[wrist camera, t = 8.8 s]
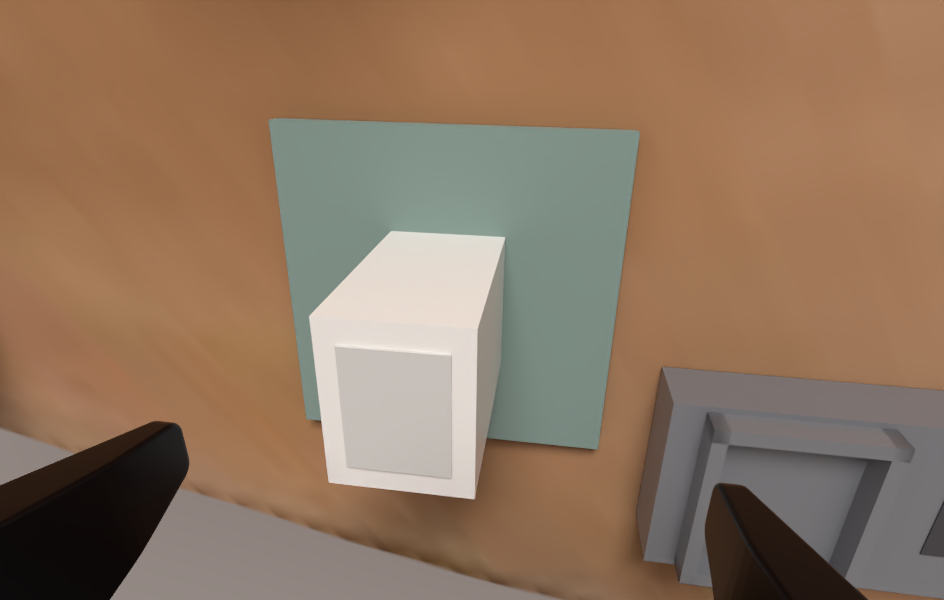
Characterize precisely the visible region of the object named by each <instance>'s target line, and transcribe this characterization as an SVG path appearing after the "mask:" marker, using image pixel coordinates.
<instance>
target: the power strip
mask: <svg viewBox="0 0 944 600" xmlns="http://www.w3.org/2000/svg"><path fill="white" fill-rule="evenodd" d="M717 483H730V484H739V485H743V486H745V487H747V488H748V489H749V490H750V491H751V492H752V493H753V494H755V495H756V496H757V497H758V498H759V499H760V500H761V501H762V502H763V503H764V504H765V505H766V506H768V507H769V508H770V509H771V510H772V511H773V512H774V513H775V514H776V515H777V516H778V517H779V518H780V519H782V520H783V521H784V522H785V523H786V524H787V525H788V526H789V527H790V528H791V529H792V530H793V531H795V532H796V533H797V534H798V535H799V536H800V537H801V538H802V539H803V540H804V541H805V542H806V543H807V544H809V545H810V546H811V547H812V548H813V549H814V550H815V551H816V552H817V553H818V554H819V555H820V556H822V557H823V558H824V559H825V560H826V561H827V562H828V563H829V564H830V565H831V566H832V567H833V568H834V569H836V570H837V571H838V572H839V573H840V574H841V575H842V576H843V577H844V578H845V579H846V580H847V581H849V582H850V583H851V584H852V585H853V586H854V587H855V588H856V589H857V588H863V589H871V590H878V591H886V592H894V593H902V594H910V595H918V596H925V597H933V598H941V599H944V391H942V390H930V389H918V388H906V387H894V386H883V385H871V384H859V383H847V382H835V381H824V380H812V379H800V378H788V377H776V376H765V375H753V374H741V373H729V372H717V371H706V370H694V369H682V368H670V367H662V370H661V376H660V381H659V387H658V393H657V398H656V404H655V409H654V415H653V421H652V426H651V432H650V438H649V443H648V449H647V454H646V460H645V466H644V471H643V477H642V483H641V488H640V494H639V499H638V505H637V511H636V517H637V524H638V530H639V536H640V542H641V548H642V554H643V560H644V561H651V562H659V563H667V564H675V567H676V572H677V576H678V580H679V583H682V584H690V585H697V586H705V587H712V582H711V575H710V568H709V562H708V555H707V548H706V542H705V521H706V516H707V512H708V508H709V503H710V499H711V495H712V491H713V488H714V486H715V484H717Z"/></svg>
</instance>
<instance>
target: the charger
mask: <svg viewBox="0 0 944 600" xmlns="http://www.w3.org/2000/svg"><path fill="white" fill-rule="evenodd" d="M504 262H505V237H494V236H476V235H457V234H439V233H420V232H402V231H391V232H390V233H389V234H388V235H387V236H386V237H385V238H384V239H383V240H382V241H381V242H380V243H379V244H378V245H377V246H376V247H375V248H374V249H373V250H372V251H371V252H370V253H369V254H368V255H367V256H366V258H365V259H364V260H363V261H362V262H361V263H360V264H359V265H358V266H357V267H356V268H355V269H354V270H353V271H352V272H351V273H350V274H349V275H348V276H347V277H346V278H345V279H344V280H343V281H342V282H341V283H340V285H339V286H338V287H337V288H336V289H335V290H334V291H333V292H332V293H331V294H330V295H329V296H328V297H327V298H326V299H325V300H324V301H323V302H322V303H321V304H320V305H319V306H318V307H317V308H316V309H315V310H314V312H313V313H312V314H311V315H310V316H309V321H310V329H311V337H312V346H313V354H314V363H315V371H316V380H317V388H318V396H319V405H320V413H321V422H322V430H323V438H324V447H325V455H326V464H327V472H328V480H329V483H337V484H346V485H354V486H363V487H372V488H380V489H389V490H398V491H406V492H415V493H424V494H433V495H441V496H450V497H459V498H467V499H475V495H476V490H477V485H478V480H479V475H480V469H481V464H482V459H483V454H484V449H485V444H486V438H487V433H488V428H489V423H490V418H491V412H492V407H493V402H494V397H495V392H496V387H497V381H498V376H499V371H500V366H501V343H502V316H503V289H504Z"/></svg>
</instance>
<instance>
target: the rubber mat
mask: <svg viewBox="0 0 944 600" xmlns="http://www.w3.org/2000/svg"><path fill="white" fill-rule="evenodd" d="M269 127H270V135H271V143H272V151H273V159H274V167H275V174H276V182H277V190H278V198H279V206H280V214H281V222H282V230H283V238H284V246H285V253H286V261H287V269H288V277H289V285H290V293H291V301H292V309H293V317H294V325H295V332H296V340H297V348H298V356H299V364H300V372H301V380H302V388H303V396H304V404H305V411H306V419H310V420H319V421H321V413H320V405H319V396H318V388H317V380H316V371H315V363H314V354H313V346H312V337H311V329H310V321H309V316H310V315H311V314H312V313H313V312H314V310H315V309H316V308H317V307H318V306H319V305H320V304H321V303H322V302H323V301H324V300H325V299H326V298H327V297H328V296H329V295H330V294H331V293H332V292H333V291H334V290H335V289H336V288H337V287H338V286H339V285H340V283H341V282H342V281H343V280H344V279H345V278H346V277H347V276H348V275H349V274H350V273H351V272H352V271H353V270H354V269H355V268H356V267H357V266H358V265H359V264H360V263H361V262H362V261H363V260H364V259H365V258H366V256H367V255H368V254H369V253H370V252H371V251H372V250H373V249H374V248H375V247H376V246H377V245H378V244H379V243H380V242H381V241H382V240H383V239H384V238H385V237H386V236H387V235H388V234H389V233H390V232H391V231H402V232H420V233H439V234H457V235H476V236H494V237H505V262H504V289H503V316H502V343H501V366H500V371H499V376H498V381H497V387H496V392H495V397H494V402H493V407H492V412H491V418H490V423H489V428H488V433H487V438H492V439H501V440H511V441H521V442H530V443H540V444H549V445H559V446H569V447H578V448H588V449H597V450H598V444H599V437H600V429H601V422H602V414H603V407H604V399H605V392H606V384H607V377H608V369H609V362H610V354H611V347H612V339H613V332H614V324H615V317H616V309H617V302H618V294H619V287H620V279H621V272H622V264H623V257H624V249H625V242H626V234H627V226H628V219H629V211H630V204H631V196H632V189H633V181H634V174H635V166H636V159H637V151H638V144H639V136H640V132H639V131H638V130H618V129H588V128H558V127H528V126H498V125H468V124H438V123H408V122H378V121H348V120H318V119H288V118H275V119H271V120H269Z"/></svg>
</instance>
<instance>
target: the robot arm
mask: <svg viewBox="0 0 944 600" xmlns="http://www.w3.org/2000/svg"><path fill="white" fill-rule="evenodd" d="M188 468H189V457H188V453H187V449H186V445H185V441H184V437H183V433H182V430H181V428H180V426H179V425H178V424H176V423H171V422H162V421H154V422H151V423H148V424H146V425H143V426H141V427H139V428H136V429H134V430H131V431H129V432H127V433H124V434H122V435H119V436H117V437H115V438H112V439H110V440H107V441H105V442H103V443H100V444H98V445H96V446H93V447H91V448H88V449H86V450H84V451H81V452H79V453H76V454H74V455H72V456H69V457H67V458H65V459H62V460H60V461H57V462H55V463H53V464H50V465H48V466H45V467H43V468H41V469H38V470H36V471H33V472H31V473H29V474H26V475H24V476H22V477H19V478H17V479H14V480H12V481H10V482H7V483H5V484H3V485H0V600H110V599H111V597H112V596H113V594H114V593H115V591H116V590H117V588H118V587H119V586H120V584H121V583H122V581H123V580H124V578H125V577H126V576H127V574H128V573H129V571H130V570H131V568H132V567H133V565H134V564H135V562H136V561H137V559H138V558H139V556H140V555H141V553H142V552H143V550H144V548H145V546H146V545H147V543H148V541H149V540H150V538H151V536H152V534H153V533H154V531H155V529H156V528H157V526H158V524H159V522H160V521H161V519H162V517H163V515H164V513H165V512H166V510H167V508H168V506H169V505H170V503H171V501H172V499H173V498H174V496H175V494H176V492H177V490H178V489H179V487H180V485H181V483H182V482H183V480H184V478H185V476H186V474H187V472H188ZM705 542H706V548H707V555H708V562H709V568H710V575H711V582H712V588H713V595H714V600H868V599H867V598H866V597H865V596H864V595H863V594H861V593H860V592H859V591H858V590H857V589H856V588H855V587H854V586H853V585H852V584H851V583H850V582H849V581H847V580H846V579H845V578H844V577H843V576H842V575H841V574H840V573H839V572H838V571H837V570H836V569H834V568H833V567H832V566H831V565H830V564H829V563H828V562H827V561H826V560H825V559H824V558H823V557H822V556H820V555H819V554H818V553H817V552H816V551H815V550H814V549H813V548H812V547H811V546H810V545H809V544H807V543H806V542H805V541H804V540H803V539H802V538H801V537H800V536H799V535H798V534H797V533H796V532H795V531H793V530H792V529H791V528H790V527H789V526H788V525H787V524H786V523H785V522H784V521H783V520H782V519H780V518H779V517H778V516H777V515H776V514H775V513H774V512H773V511H772V510H771V509H770V508H769V507H768V506H766V505H765V504H764V503H763V502H762V501H761V500H760V499H759V498H758V497H757V496H756V495H755V494H753V493H752V492H751V491H750V490H749V489H748V488H747V487H745V486H743V485H739V484H730V483H717V484H715V486H714V488H713V491H712V495H711V499H710V503H709V508H708V512H707V516H706V521H705Z"/></svg>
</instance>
